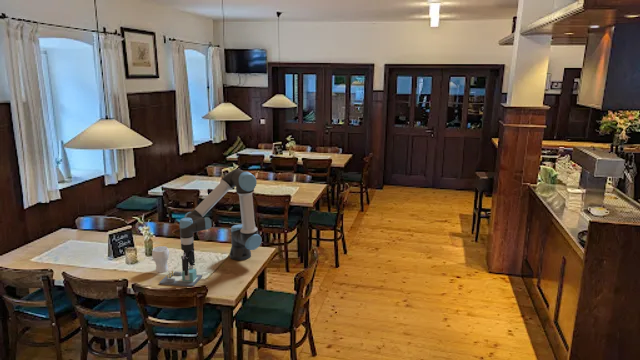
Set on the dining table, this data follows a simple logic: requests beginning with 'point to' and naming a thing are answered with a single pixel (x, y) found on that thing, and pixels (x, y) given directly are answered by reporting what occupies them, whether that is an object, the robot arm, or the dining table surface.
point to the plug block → (190, 275)
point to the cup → (161, 258)
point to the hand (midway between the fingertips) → (189, 277)
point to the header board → (178, 280)
